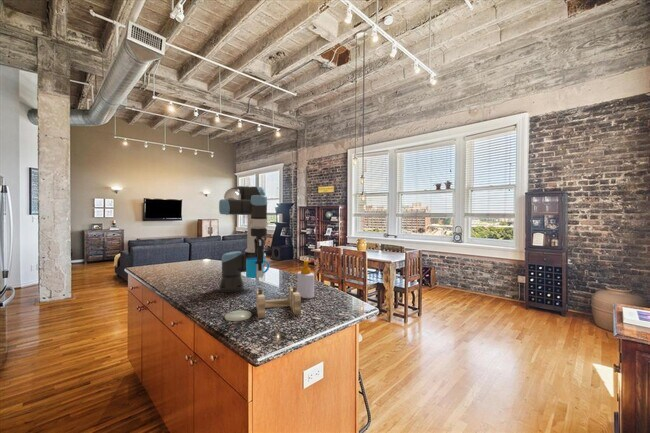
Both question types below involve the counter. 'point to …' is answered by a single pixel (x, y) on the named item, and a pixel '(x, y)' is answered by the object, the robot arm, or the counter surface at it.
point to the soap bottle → (305, 282)
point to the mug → (253, 267)
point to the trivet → (238, 315)
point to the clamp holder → (278, 302)
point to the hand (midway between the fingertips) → (258, 275)
